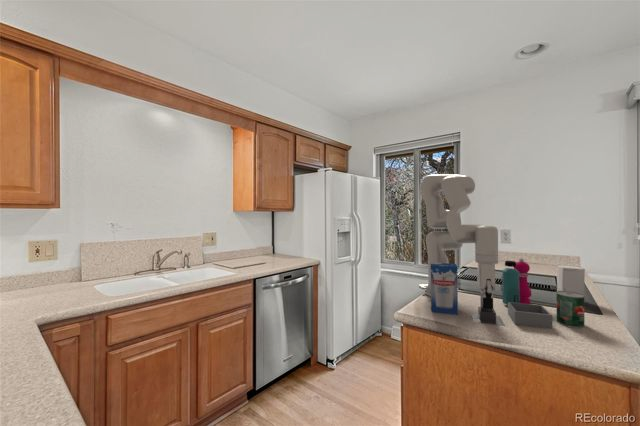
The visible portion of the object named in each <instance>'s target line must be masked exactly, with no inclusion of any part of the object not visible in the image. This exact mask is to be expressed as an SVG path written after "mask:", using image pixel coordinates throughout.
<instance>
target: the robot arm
mask: <svg viewBox="0 0 640 426" xmlns="http://www.w3.org/2000/svg"><path fill="white" fill-rule="evenodd" d="M475 189H476V183H475V180H474V179H473V178H472V177H471V176H468V175H461V174H449V173H448V174H447V173H446V174H445V173H442V174H441V173H440V174H439V173H436V174H435V173H433V174H429V175H426V176H425V177H423V179H422V181H421V194H422V195H423V199H424V204H425V211H426V214H425V215H426V222H427V226H428V227H429V228H430V229H435V231H431V232H429V233H427V235H425V236H426V237H425V244H426V248H427V249H426V251H427V266H428V267H427V273H428V274H427V276H428V277H427V280H428V281H427V284H418V289H421V290H424V293H425V295H427V296H429V297H431V263H449V257H448V255H447V254H446V253H445V251H455V250H460V249H461V248H462V247H463V245H464V244H474V249H475V251H474V254H475V256H474V258H475V263H476V264H477V271H476V272H477V273H476V274H477V275H476V276H477V277H476V278H477V279H476V283H477V286H478V288H479V289H480V292H481V291H484V297H483V308H485V309H493V308H494V292H493V291H495V290H496V266H495V265H498V264H499V229H498V227H496V226H494V225H493V226H492V225H484V224H462V219H461V216H460V213H463V212H464V211H466V210H468V208H470V207H471V203H472V201H471V200H470V197H469V196H468V195H470V194H473V193H474V192H475ZM438 192H443V196H444V197H445V199H446V200H445V201H446V202H447V205H448V206H449V209H445V207H444V205H445V204H444V200H443V198H442V197H441V195H440V194H439V193H438ZM436 229H439V230H438V231H436ZM440 229H446V230H444V231H443V230H440ZM449 264H450V263H449ZM486 291H487V292H486Z"/></svg>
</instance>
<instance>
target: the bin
mask: <svg viewBox="0 0 640 426" xmlns="http://www.w3.org/2000/svg"><path fill="white" fill-rule="evenodd" d="M507 315H508V316H509V318H510V320H511V321H512V322H513V324H514V325H515V326H522V327H532V328H540V329H541V328H542V329H548V330H550V329H551V330H553V314H552V313H551V312H550V311H549V310H547V308H545V307H544V306H543V305H542V304H533V303H530V304H523V303H513V302H508V305H507Z"/></svg>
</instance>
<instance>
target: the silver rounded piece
mask: <svg viewBox="0 0 640 426" xmlns="http://www.w3.org/2000/svg"><path fill="white" fill-rule="evenodd" d="M486 292H487V291H486ZM479 297H480V306H477V307H478V309H477V314H478V316H479V319H480V321H489V322H496V316H497V312H496V310H495V309H494V307H493V309H485V308H483V297H484V291H481V290H480V296H479Z"/></svg>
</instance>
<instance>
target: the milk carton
mask: <svg viewBox="0 0 640 426" xmlns="http://www.w3.org/2000/svg"><path fill="white" fill-rule="evenodd" d="M458 297H459V296H458V265H457V263H431V296H430V309H431V310H430V311H431V313H437V314H438V313H439V314H445V315H446V314H448V315H458V314H459V313H458V312H459V311H458V310H459V308H458V307H459V305H458V304H459V303H458V302H459V301H458V299H459V298H458Z"/></svg>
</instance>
